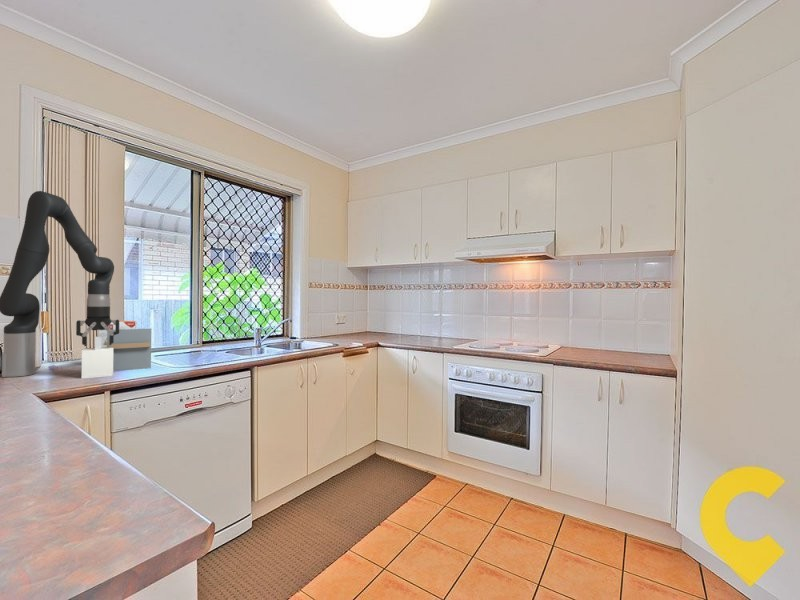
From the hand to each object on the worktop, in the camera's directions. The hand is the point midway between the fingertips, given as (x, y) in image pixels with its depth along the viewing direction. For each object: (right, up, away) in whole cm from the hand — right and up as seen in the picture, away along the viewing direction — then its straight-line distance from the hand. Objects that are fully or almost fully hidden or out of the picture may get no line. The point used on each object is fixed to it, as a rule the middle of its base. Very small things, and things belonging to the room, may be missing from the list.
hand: (98, 345), depth 155 cm
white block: (-1, -13, +1) cm, 13 cm away
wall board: (+3, -12, +14) cm, 19 cm away
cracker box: (-10, -12, +23) cm, 28 cm away
